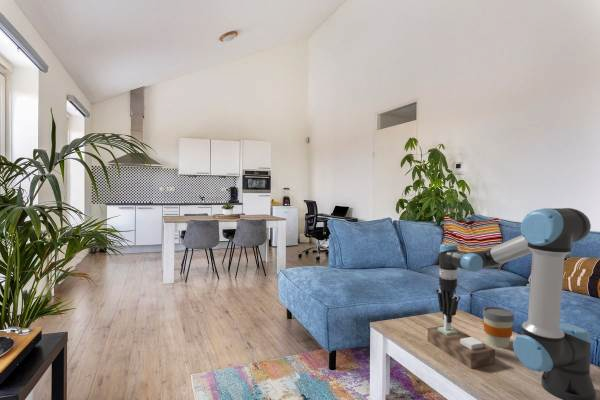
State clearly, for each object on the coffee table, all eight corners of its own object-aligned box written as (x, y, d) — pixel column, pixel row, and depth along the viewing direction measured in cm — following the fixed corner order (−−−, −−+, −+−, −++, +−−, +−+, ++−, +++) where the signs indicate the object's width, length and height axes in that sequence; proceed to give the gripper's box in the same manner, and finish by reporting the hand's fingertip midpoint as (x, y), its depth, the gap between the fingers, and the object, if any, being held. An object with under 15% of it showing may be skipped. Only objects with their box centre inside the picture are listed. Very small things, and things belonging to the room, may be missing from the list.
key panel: (494, 363, 138) (494, 349, 137) (471, 368, 134) (471, 353, 134) (448, 337, 162) (448, 325, 162) (427, 340, 159) (427, 328, 159)
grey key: (482, 354, 139) (483, 342, 139) (471, 357, 138) (471, 345, 138) (471, 348, 145) (471, 336, 145) (460, 350, 143) (460, 338, 143)
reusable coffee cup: (501, 352, 148) (501, 318, 147) (476, 340, 159) (476, 308, 159) (519, 346, 153) (520, 313, 152) (494, 335, 164) (494, 305, 164)
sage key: (457, 342, 153) (457, 331, 153) (446, 343, 151) (446, 332, 151) (448, 336, 159) (448, 326, 158) (437, 338, 157) (437, 327, 157)
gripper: (431, 274, 159) (430, 324, 160) (451, 282, 147) (450, 335, 147) (444, 273, 161) (444, 322, 162) (465, 280, 149) (464, 333, 150)
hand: (447, 328), depth 155 cm, fingers closed
